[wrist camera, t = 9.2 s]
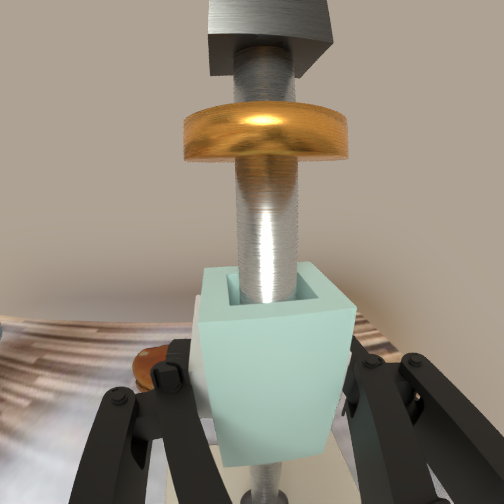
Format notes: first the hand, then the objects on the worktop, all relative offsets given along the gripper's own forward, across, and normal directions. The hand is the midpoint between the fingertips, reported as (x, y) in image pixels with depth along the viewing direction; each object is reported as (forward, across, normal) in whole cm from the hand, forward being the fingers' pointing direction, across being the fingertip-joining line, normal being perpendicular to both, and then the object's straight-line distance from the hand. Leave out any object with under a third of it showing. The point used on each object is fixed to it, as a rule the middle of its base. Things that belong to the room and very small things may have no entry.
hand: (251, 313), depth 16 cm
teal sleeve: (-5, 0, -4) cm, 7 cm away
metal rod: (-5, 0, -19) cm, 19 cm away
